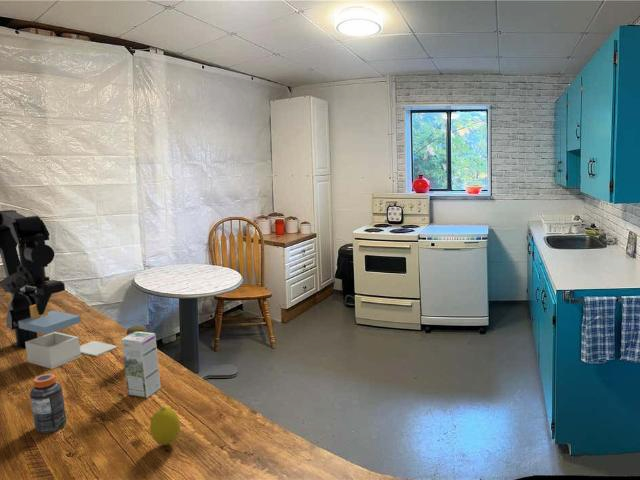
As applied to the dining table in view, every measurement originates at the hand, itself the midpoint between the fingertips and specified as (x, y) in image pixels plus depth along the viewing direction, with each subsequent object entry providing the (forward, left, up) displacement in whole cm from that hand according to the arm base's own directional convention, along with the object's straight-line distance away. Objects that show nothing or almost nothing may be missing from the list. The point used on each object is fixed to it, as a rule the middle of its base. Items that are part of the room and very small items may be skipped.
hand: (39, 314), depth 142 cm
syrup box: (+45, -3, -13) cm, 47 cm away
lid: (+5, 0, -3) cm, 5 cm away
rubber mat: (+9, +10, -13) cm, 19 cm away
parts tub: (+5, 0, -13) cm, 14 cm away
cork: (+31, +8, -13) cm, 34 cm away
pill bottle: (+39, -23, -13) cm, 47 cm away
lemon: (+67, -17, -13) cm, 70 cm away
